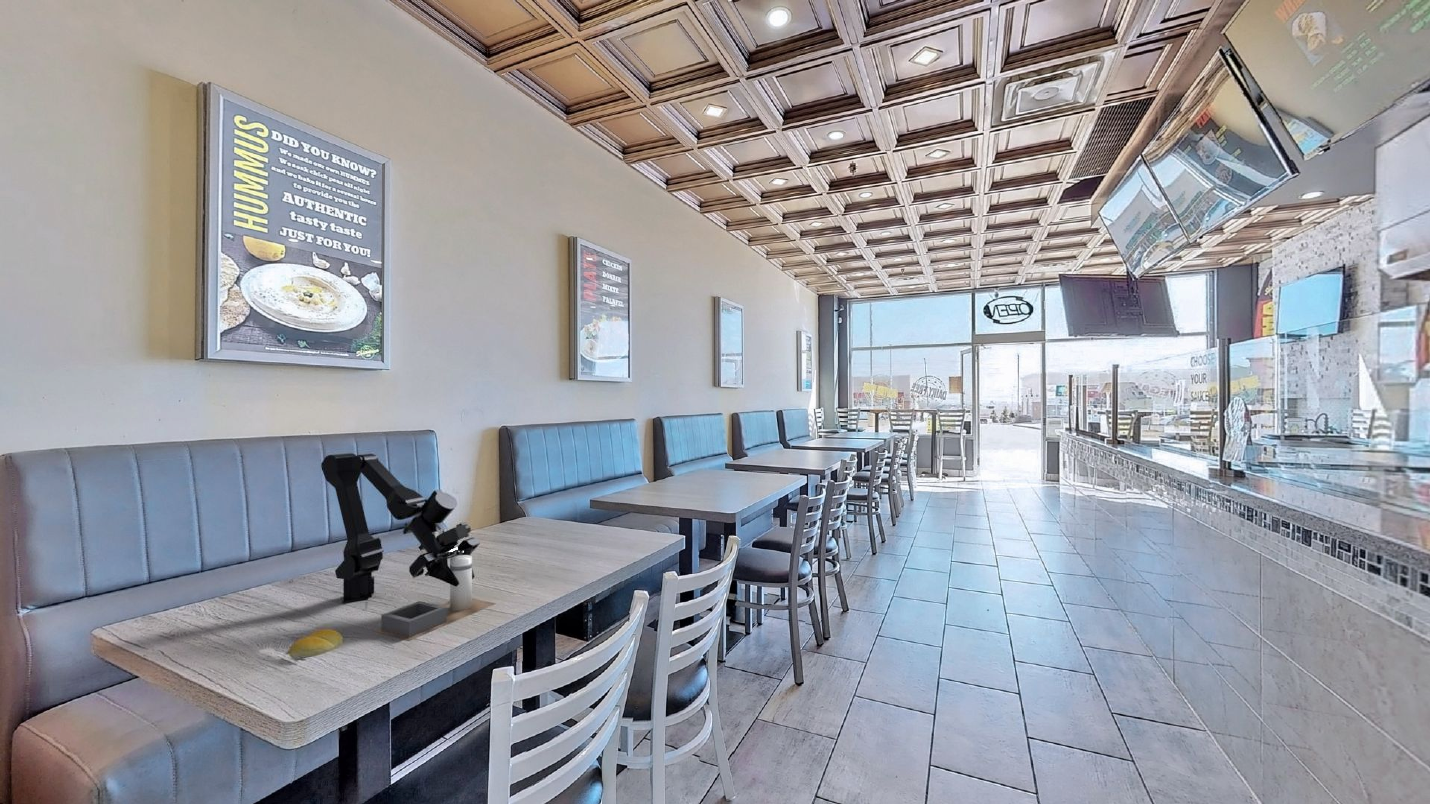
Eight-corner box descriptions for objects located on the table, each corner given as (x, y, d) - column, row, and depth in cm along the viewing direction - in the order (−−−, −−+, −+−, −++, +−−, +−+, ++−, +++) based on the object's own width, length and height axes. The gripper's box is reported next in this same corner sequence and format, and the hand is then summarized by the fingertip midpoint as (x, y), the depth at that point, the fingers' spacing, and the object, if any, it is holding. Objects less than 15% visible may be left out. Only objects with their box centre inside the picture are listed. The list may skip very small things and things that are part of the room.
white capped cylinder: (450, 612, 131) (451, 561, 131) (448, 606, 135) (448, 556, 135) (473, 608, 134) (473, 558, 134) (470, 602, 138) (470, 553, 138)
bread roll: (279, 660, 108) (279, 641, 108) (319, 641, 117) (319, 623, 117) (313, 664, 107) (313, 644, 107) (351, 644, 116) (351, 626, 116)
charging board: (408, 644, 115) (408, 640, 115) (373, 634, 120) (373, 631, 120) (496, 606, 137) (496, 603, 137) (462, 599, 142) (462, 596, 142)
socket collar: (409, 638, 117) (409, 622, 117) (381, 630, 121) (381, 614, 121) (446, 622, 125) (446, 607, 125) (419, 615, 129) (419, 601, 129)
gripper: (419, 521, 127) (457, 572, 124) (474, 507, 145) (508, 551, 142) (392, 552, 129) (429, 602, 126) (450, 534, 147) (483, 578, 144)
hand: (465, 581), depth 134 cm, fingers closed on white capped cylinder, 5 cm apart
